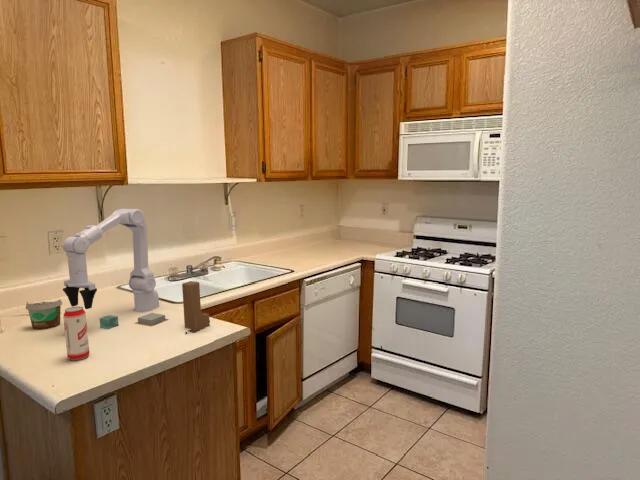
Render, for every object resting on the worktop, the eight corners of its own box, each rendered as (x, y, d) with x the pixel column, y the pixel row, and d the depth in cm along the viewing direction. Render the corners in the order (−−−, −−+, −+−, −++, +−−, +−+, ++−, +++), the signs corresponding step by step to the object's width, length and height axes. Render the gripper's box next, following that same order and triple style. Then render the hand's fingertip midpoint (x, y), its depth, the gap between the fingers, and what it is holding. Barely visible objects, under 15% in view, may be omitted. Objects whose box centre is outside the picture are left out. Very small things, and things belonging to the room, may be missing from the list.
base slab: (152, 321, 181) (152, 316, 180) (169, 324, 177) (169, 319, 176) (134, 328, 173) (134, 323, 172) (151, 331, 169) (151, 326, 168)
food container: (22, 332, 168) (19, 306, 166) (28, 327, 174) (25, 301, 172) (60, 328, 171) (57, 303, 169) (64, 323, 177) (61, 299, 175)
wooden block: (200, 323, 175) (198, 278, 172) (210, 325, 173) (207, 279, 170) (184, 331, 167) (181, 283, 164) (194, 332, 165) (191, 284, 162)
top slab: (152, 317, 179) (151, 312, 178) (165, 320, 176) (165, 315, 175) (138, 322, 173) (137, 317, 172) (151, 325, 170) (151, 320, 169)
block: (110, 327, 172) (109, 314, 171) (118, 329, 170) (117, 316, 169) (100, 331, 168) (99, 318, 167) (108, 332, 166) (107, 319, 166)
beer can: (93, 353, 147) (88, 305, 145) (84, 361, 141) (79, 311, 139) (73, 353, 147) (69, 306, 145) (63, 361, 141) (58, 312, 138)
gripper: (54, 270, 161) (58, 307, 163) (81, 274, 155) (84, 312, 157) (72, 266, 168) (76, 302, 170) (99, 270, 161) (102, 307, 163)
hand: (81, 307), depth 164 cm, fingers open, 7 cm apart
